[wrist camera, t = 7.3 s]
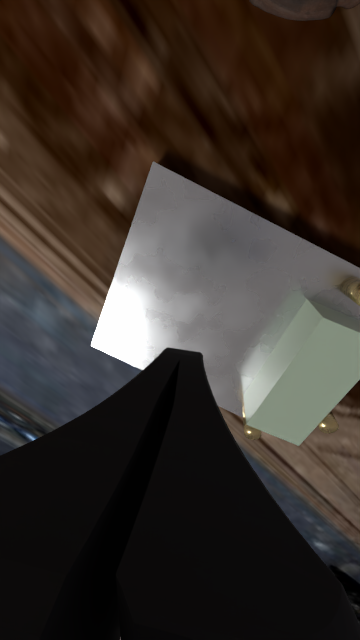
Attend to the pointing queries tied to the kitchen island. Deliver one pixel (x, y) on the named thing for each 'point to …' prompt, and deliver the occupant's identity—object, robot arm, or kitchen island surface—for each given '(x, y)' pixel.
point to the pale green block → (305, 373)
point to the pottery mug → (303, 8)
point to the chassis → (215, 287)
